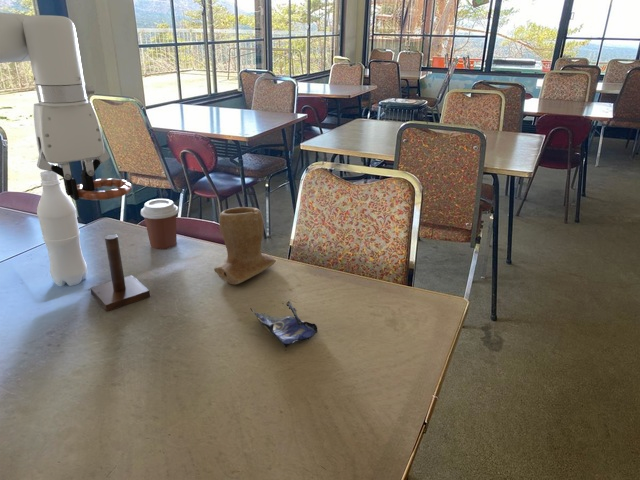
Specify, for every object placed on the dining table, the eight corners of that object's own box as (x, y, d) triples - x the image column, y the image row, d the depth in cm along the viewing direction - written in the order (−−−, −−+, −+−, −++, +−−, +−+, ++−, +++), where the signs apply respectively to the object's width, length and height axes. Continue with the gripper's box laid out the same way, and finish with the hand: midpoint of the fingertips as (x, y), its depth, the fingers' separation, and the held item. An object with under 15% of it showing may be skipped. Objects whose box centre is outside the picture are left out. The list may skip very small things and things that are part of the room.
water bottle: (96, 280, 107) (76, 171, 97) (66, 293, 102) (41, 179, 91) (76, 271, 110) (54, 165, 100) (46, 284, 105) (20, 173, 95)
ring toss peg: (107, 311, 96) (96, 250, 90) (91, 294, 102) (79, 235, 96) (150, 296, 101) (142, 238, 96) (132, 280, 107) (124, 225, 102)
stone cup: (245, 253, 122) (243, 197, 116) (282, 266, 116) (281, 207, 110) (200, 275, 110) (195, 214, 104) (238, 291, 104) (235, 227, 98)
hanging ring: (85, 204, 86) (84, 196, 85) (67, 191, 92) (66, 183, 92) (140, 194, 92) (139, 186, 91) (119, 182, 99) (118, 175, 98)
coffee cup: (189, 242, 127) (185, 199, 122) (169, 256, 119) (164, 211, 114) (159, 237, 129) (154, 195, 124) (137, 251, 121) (131, 206, 116)
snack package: (303, 311, 98) (247, 318, 94) (306, 286, 95) (248, 293, 91) (322, 353, 89) (260, 363, 85) (326, 327, 85) (261, 337, 81)
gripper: (101, 89, 90) (116, 184, 97) (4, 95, 80) (29, 200, 87) (117, 93, 85) (131, 193, 92) (15, 100, 75) (40, 211, 82)
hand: (81, 196), depth 90 cm, fingers closed on hanging ring, 2 cm apart
